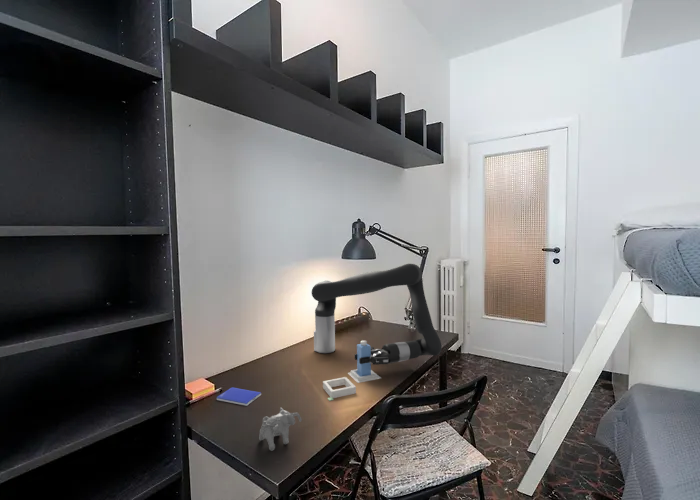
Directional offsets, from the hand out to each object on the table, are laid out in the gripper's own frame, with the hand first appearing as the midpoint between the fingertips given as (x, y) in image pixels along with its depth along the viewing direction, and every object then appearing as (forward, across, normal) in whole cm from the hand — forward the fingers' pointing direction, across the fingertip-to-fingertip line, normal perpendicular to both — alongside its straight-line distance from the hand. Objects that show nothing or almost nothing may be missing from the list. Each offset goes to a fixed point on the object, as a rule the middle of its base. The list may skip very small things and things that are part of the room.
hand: (357, 359), depth 135 cm
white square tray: (-3, 0, +8) cm, 8 cm away
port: (+11, +8, +8) cm, 15 cm away
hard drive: (+44, -4, +9) cm, 45 cm away
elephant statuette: (+35, +27, +8) cm, 45 cm away
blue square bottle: (-3, 0, +7) cm, 8 cm away
